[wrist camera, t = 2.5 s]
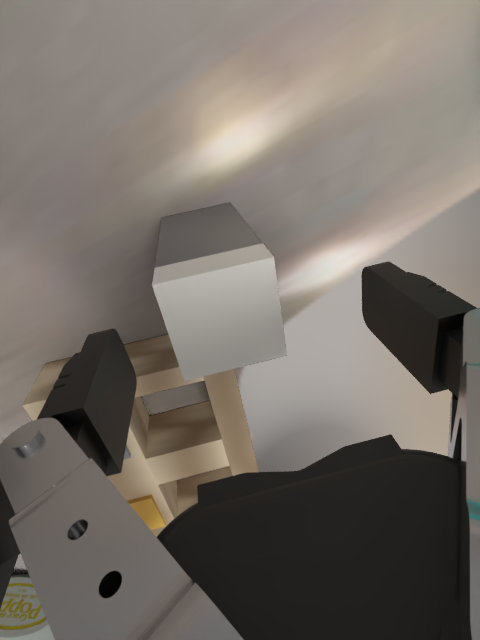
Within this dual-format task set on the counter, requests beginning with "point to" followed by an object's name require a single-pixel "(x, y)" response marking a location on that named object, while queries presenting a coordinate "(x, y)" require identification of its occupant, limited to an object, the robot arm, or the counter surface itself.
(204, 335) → the plug
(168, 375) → the socket block
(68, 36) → the counter surface
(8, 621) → the air freshener
